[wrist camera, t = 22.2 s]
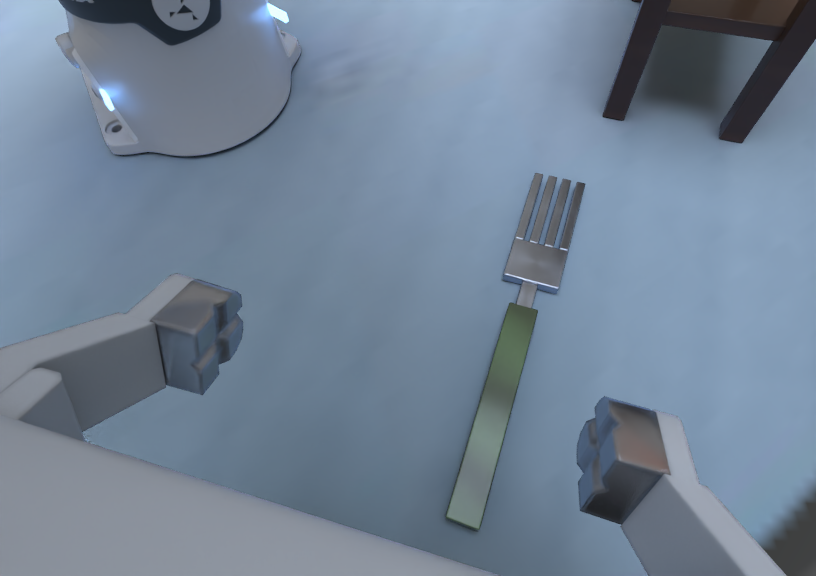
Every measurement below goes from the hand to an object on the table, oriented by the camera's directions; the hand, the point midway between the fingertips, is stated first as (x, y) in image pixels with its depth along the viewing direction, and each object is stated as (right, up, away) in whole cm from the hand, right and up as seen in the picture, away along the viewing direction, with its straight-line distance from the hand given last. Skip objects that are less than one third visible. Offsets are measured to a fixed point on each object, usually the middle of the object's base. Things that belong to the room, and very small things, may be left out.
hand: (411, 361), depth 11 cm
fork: (+7, -1, +20) cm, 22 cm away
